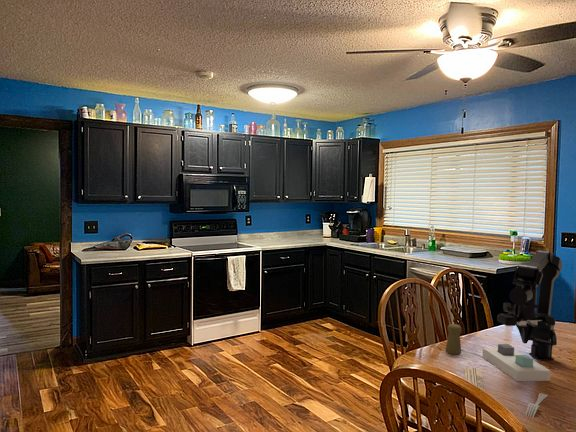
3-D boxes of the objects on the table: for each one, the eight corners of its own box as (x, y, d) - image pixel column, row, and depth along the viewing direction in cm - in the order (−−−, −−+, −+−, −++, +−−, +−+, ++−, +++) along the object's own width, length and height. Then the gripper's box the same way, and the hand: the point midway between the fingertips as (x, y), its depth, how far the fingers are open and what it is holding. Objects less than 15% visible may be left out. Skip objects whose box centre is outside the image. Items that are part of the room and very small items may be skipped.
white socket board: (511, 356, 173) (511, 347, 173) (549, 380, 151) (550, 370, 151) (482, 356, 172) (482, 348, 172) (517, 381, 150) (517, 371, 150)
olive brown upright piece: (462, 354, 174) (464, 327, 173) (446, 353, 175) (447, 326, 174) (459, 349, 180) (461, 323, 179) (444, 348, 181) (445, 321, 180)
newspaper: (463, 370, 160) (463, 366, 160) (484, 374, 157) (485, 369, 157) (465, 398, 138) (465, 393, 138) (489, 403, 135) (490, 397, 135)
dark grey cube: (507, 354, 169) (508, 344, 169) (513, 358, 165) (514, 347, 165) (497, 354, 169) (498, 344, 169) (503, 358, 165) (504, 347, 165)
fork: (549, 403, 141) (549, 394, 141) (534, 420, 125) (535, 410, 125) (539, 400, 142) (539, 391, 142) (523, 416, 127) (524, 407, 127)
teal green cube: (525, 365, 158) (526, 354, 158) (532, 370, 154) (533, 359, 154) (515, 365, 158) (515, 355, 158) (522, 370, 154) (522, 359, 154)
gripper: (536, 294, 165) (534, 335, 166) (489, 294, 163) (487, 335, 164) (557, 302, 154) (554, 345, 155) (507, 302, 152) (505, 346, 153)
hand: (524, 343), depth 157 cm, fingers closed
